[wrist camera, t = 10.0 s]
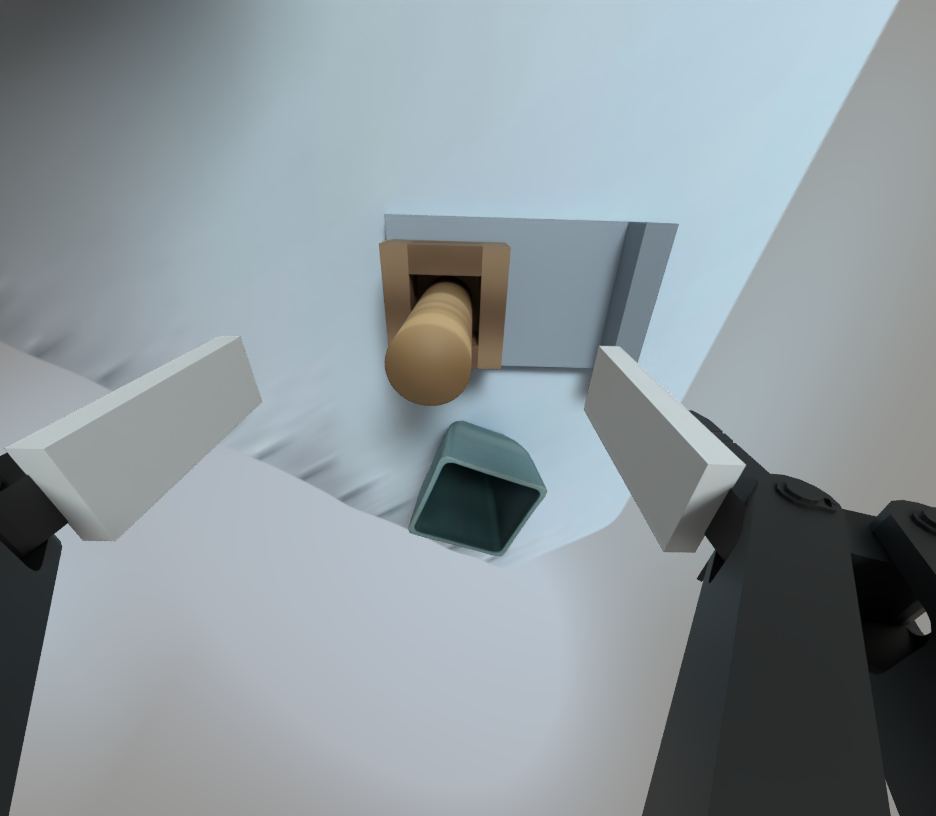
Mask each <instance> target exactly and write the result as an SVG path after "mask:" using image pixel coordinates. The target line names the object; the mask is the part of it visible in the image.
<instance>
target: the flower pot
mask: <svg viewBox="0 0 936 816" xmlns="http://www.w3.org/2000/svg"><path fill="white" fill-rule="evenodd" d="M546 493H547V489H546V487H545V485H544V483H543V481H542V479H541V477H540V475H539V473H538V471H537V468H536V466H535V464H534V463H533V460H532V459H531V457H530V455H529V454H528V452H527V451H526V450H525V449H524V448H523V447H522V446H521V445H520V444H518V443H517V442H515V441H514V440H512V439H510V438H509V437H506V436H504V435H502V434H499V433H496V432H493V431H490V430H487V429H485V428H482V427H479V426H476V425H473V424H470V423H468V422H464V421H456V422H454V423H452V424H451V425H450V427H449V428H448V430H447V432H446V434H445V436H444V439H443V441H442V443H441V445H440V448H439V450H438V452H437V454H436V456H435V459H434V461H433V463H432V465H431V467H430V470H429V472H428V474H427V476H426V478H425V480H424V483H423V485H422V487H421V490H420V493H419V496H418V499H417V503H416V506H415V509H414V512H413V515H412V518H411V522H410V525H409V532H410V533H412V534H415V535H418V536H422V537H425V538H429V539H433V540H438V541H442V542H446V543H449V544H453V545H457V546H461V547H465V548H469V549H473V550H476V551H480V552H483V553H486V554H490V555H494V556H502V555H503V554H504V553H505V552H506V551H507V549H508V548H509V546H510V545H511V543H512V542H513V540H514V539H515V537H516V536H517V534H518V533H519V531H520V530H521V528H522V527H523V526H524V524H525V523H526V521H527V520H528V518H529V517H530V516H531V514H532V513H533V512H534V510H535V509H536V508H537V506H538V505H539V504H540V502H541V501H542V500H543V498H544V497H545V495H546Z"/></svg>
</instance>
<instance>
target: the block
mask: <svg viewBox="0 0 936 816" xmlns="http://www.w3.org/2000/svg"><path fill="white" fill-rule="evenodd" d="M379 250H380V260H381V271H382V281H383V292H384V302H385V313H386V323H387V334H388V344H389V345H390V344H391V342H392V340H393V339H394V337H395V336H396V334H397V333H398V331H399V330H400V328H401V327H402V325H403V324H404V322H405V321H406V319H407V318H408V316H409V315H410V313H411V312H412V310H413V309H414V307H415V306H416V304H417V303H418V301H419V300H420V298H421V297H422V295H423V294H424V292H425V291H426V289H427V288H428V286H429V285H430V283H431V282H432V281H434V280H435V279H437V278H439V277H442V276H454V277H457V278H459V279H461V280H462V281H463V282H464V283H465V284H466V285H467V286H468V287H469V289H470V291H471V294H472V357H471V368H476V369H501V363H502V351H503V339H504V326H505V314H506V302H507V290H508V277H509V265H510V253H511V247H510V246H509V245H508V244H506V243H505V242H472V241H439V240H406V239H391V240H388V241H385V242H382V243H379Z"/></svg>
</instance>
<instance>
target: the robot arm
mask: <svg viewBox="0 0 936 816" xmlns="http://www.w3.org/2000/svg"><path fill="white" fill-rule="evenodd" d="M261 403H262V400H261V397H260V394H259V391H258V388H257V385H256V382H255V379H254V376H253V373H252V370H251V367H250V364H249V361H248V358H247V354H246V351H245V348H244V345H243V342H242V339H241V336H218V337H216V338H214V339H212V340H210V341H208V342H206V343H205V344H203V345H201V346H199V347H197V348H195V349H193V350H191V351H189V352H187V353H185V354H183V355H182V356H180V357H178V358H176V359H174V360H172V361H170V362H168V363H166V364H164V365H162V366H160V367H159V368H157V369H155V370H153V371H151V372H149V373H147V374H145V375H143V376H141V377H139V378H137V379H136V380H134V381H132V382H130V383H128V384H126V385H124V386H122V387H120V388H118V389H116V390H114V391H113V392H111V393H109V394H107V395H105V396H103V397H101V398H99V399H97V400H95V401H94V402H91V403H90V404H88V405H86V406H84V407H82V408H80V409H78V410H76V411H74V412H72V413H70V414H68V415H67V416H65V417H63V418H61V419H59V420H57V421H55V422H53V423H51V424H49V425H47V426H45V427H43V428H42V429H40V430H38V431H36V432H34V433H32V434H30V435H29V436H26V437H24V438H23V439H20V440H19V441H17V442H15V443H13V444H11V445H9V446H7V447H5V448H4V449H5V450H6V451H7V453H6V454H3V455H2V456H0V816H9V811H10V806H11V801H12V796H13V791H14V786H15V780H16V776H17V771H18V766H19V761H20V756H21V751H22V746H23V741H24V736H25V731H26V726H27V721H28V716H29V711H30V706H31V701H32V696H33V691H34V686H35V681H36V676H37V671H38V665H39V660H40V656H41V651H42V646H43V641H44V636H45V630H46V626H47V621H48V615H49V611H50V606H51V600H52V595H53V590H54V585H55V580H56V575H57V570H58V565H59V560H60V555H61V550H62V545H61V541H60V540H59V539H58V538H57V537H56V536H55V535H54V534H55V533H56V532H57V531H58V530H59V529H61V528H62V527H63V526H65V525H66V524H67V523H68V524H69V525H70V526H71V527H72V528H73V530H74V531H75V532H76V533H77V534H78V535H79V536H80V538H81V539H82V540H83V541H116V540H117V539H118V538H119V537H120V536H121V535H122V534H124V533H125V531H127V530H128V529H129V528H130V527H131V526H132V525H133V524H134V523H135V522H136V521H137V520H138V519H139V518H140V517H141V516H143V514H145V513H146V512H147V511H148V510H149V509H150V508H151V507H152V506H153V505H154V504H155V503H156V502H157V501H158V500H159V499H160V498H161V497H163V496H164V495H165V494H166V493H167V492H168V491H169V490H170V489H171V488H172V487H173V486H174V485H175V484H176V483H177V482H178V481H179V480H180V479H181V478H183V477H184V476H185V475H186V474H187V473H188V472H189V471H190V470H191V469H192V468H193V467H194V466H195V465H196V464H197V463H198V462H199V461H200V460H202V459H203V458H204V457H205V456H206V455H207V454H208V453H209V452H210V451H211V450H212V449H213V448H214V447H215V446H216V445H217V444H218V443H219V442H220V441H222V440H223V439H224V438H225V437H226V436H227V435H228V434H229V433H230V432H231V431H232V430H233V429H234V428H235V427H236V426H237V425H238V424H239V423H241V422H242V421H243V420H244V419H245V418H246V417H247V416H248V415H249V414H250V413H251V412H252V411H253V410H254V409H255V408H256V407H257V406H258V405H259V404H261ZM584 411H585V413H586V415H587V416H588V418H589V420H590V422H591V424H592V425H593V427H594V429H595V431H596V432H597V434H598V436H599V438H600V440H601V441H602V443H603V445H604V447H605V449H606V450H607V452H608V454H609V456H610V457H611V459H612V461H613V463H614V465H615V466H616V468H617V470H618V472H619V473H620V475H621V477H622V479H623V481H624V482H625V484H626V486H627V488H628V490H629V491H630V493H631V495H632V497H633V498H634V500H635V502H636V504H637V506H638V507H639V509H640V511H641V513H642V514H643V516H644V518H645V520H646V522H647V523H648V525H649V527H650V529H651V531H652V532H653V534H654V536H655V537H656V539H657V541H658V543H659V545H660V547H661V548H662V550H663V551H664V552H696V550H697V548H698V546H699V545H700V543H701V541H702V540H703V538H704V536H706V537H707V539H708V540H709V541H710V543H711V544H712V545H713V547H714V548H715V551H714V552H713V554H712V555H711V557H710V559H709V560H708V562H707V563H706V565H705V567H704V568H703V570H702V571H701V573H700V574H699V576H698V578H697V579H698V580H700V581H701V582H702V581H703V584H702V588H701V592H700V596H699V600H698V603H697V607H696V611H695V615H694V619H693V622H692V626H691V631H690V634H689V638H688V642H687V645H686V649H685V653H684V657H683V661H682V664H681V668H680V672H679V676H678V680H677V684H676V687H675V692H674V695H673V699H672V703H671V707H670V710H669V715H668V718H667V722H666V726H665V730H664V733H663V737H662V741H661V745H660V749H659V753H658V756H657V760H656V764H655V768H654V772H653V775H652V779H651V783H650V787H649V791H648V795H647V798H646V802H645V806H644V810H643V814H642V816H891V815H890V809H889V802H888V795H887V788H886V782H887V785H888V787H889V790H890V792H891V795H892V797H893V800H894V802H895V805H896V808H897V810H898V813H899V815H900V816H936V508H935V507H930V506H926V505H923V504H920V503H916V502H910V501H905V500H897V501H891V502H890V503H889V504H888V505H887V506H886V507H885V508H884V510H883V511H882V512H881V513H880V514H879V515H878V516H877V517H876V516H871V515H867V514H862V513H858V512H854V511H849V510H845V509H842V508H841V506H840V505H839V504H838V503H837V502H836V501H835V500H834V499H833V498H832V497H831V496H830V495H828V494H827V493H825V492H823V491H822V490H820V489H819V488H817V487H815V486H813V485H811V484H809V483H807V482H804V481H802V480H800V479H796V478H792V477H789V476H785V475H779V474H770V473H769V472H767V471H766V470H765V469H764V468H763V467H762V466H761V465H759V463H757V462H756V461H755V460H754V459H753V458H751V456H749V455H748V454H747V453H746V452H745V451H744V450H743V449H742V448H741V447H739V446H738V445H737V444H736V443H733V440H731V439H730V438H729V437H728V436H727V435H726V434H723V433H722V430H720V429H719V428H718V427H717V426H716V425H715V424H714V423H713V422H711V421H710V420H709V419H707V418H705V417H703V416H701V415H699V414H698V413H696V412H694V411H690V410H689V411H688V410H687V409H686V408H685V407H684V406H683V405H682V404H681V403H679V402H678V401H677V400H676V399H675V398H674V397H673V396H672V395H671V394H670V393H669V392H668V391H667V390H666V389H665V388H663V387H662V386H661V385H660V384H659V383H658V382H657V381H656V380H655V379H654V378H653V377H652V376H651V375H650V374H649V373H647V372H646V371H645V370H644V369H643V368H642V367H641V366H640V365H639V364H638V363H637V362H636V361H635V360H634V359H633V358H631V357H630V356H629V355H628V354H627V353H626V352H625V351H624V350H623V349H622V348H621V347H620V346H599V348H598V352H597V356H596V360H595V364H594V369H593V373H592V377H591V381H590V385H589V390H588V394H587V398H586V402H585V406H584ZM924 612H927V614H928V616H929V619H930V621H931V633H929V634H927V635H924V634H923V633H922V632H921V630H920V629H919V627H918V626H917V624H916V622H915V621H914V620H915V619H916V618H918V617H919V616H920V615H922V614H923V613H924ZM885 779H886V782H885Z"/></svg>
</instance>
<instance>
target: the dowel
mask: <svg viewBox="0 0 936 816" xmlns="http://www.w3.org/2000/svg"><path fill="white" fill-rule="evenodd" d="M471 357H472V294H471V291H470V289H469V287H468V286H467V285H466V284H465V283H464V282H463V281H462V280H461V279H459V278H457V277H454V276H442V277H439V278H437V279H435V280H434V281H432V282H431V283H430V285H429V286H428V288H427V289H426V291H425V292H424V294H423V295H422V297H421V298H420V300H419V301H418V303H417V304H416V306H415V307H414V309H413V310H412V312H411V313H410V315H409V316H408V318H407V319H406V321H405V322H404V324H403V325H402V327H401V328H400V330H399V331H398V333H397V334H396V336H395V337H394V339H393V340H392V342H391V344H390V345H389V347H388V349H387V352H386V356H385V370H386V374H387V377H388V379H389V382H390V383H391V385H392V386H393V388H394V389H395V390H396V391H397V392H398V393H399V394H400V395H401V396H403V397H404V398H405V399H407V400H409V401H411V402H413V403H416V404H419V405H425V406H437V405H442V404H445V403H448V402H450V401H452V400H454V399H455V398H457V397H458V396H459V395H460V394H461V393H462V392H463V391H464V389H465V388H466V386H467V384H468V382H469V380H470V376H471Z"/></svg>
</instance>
